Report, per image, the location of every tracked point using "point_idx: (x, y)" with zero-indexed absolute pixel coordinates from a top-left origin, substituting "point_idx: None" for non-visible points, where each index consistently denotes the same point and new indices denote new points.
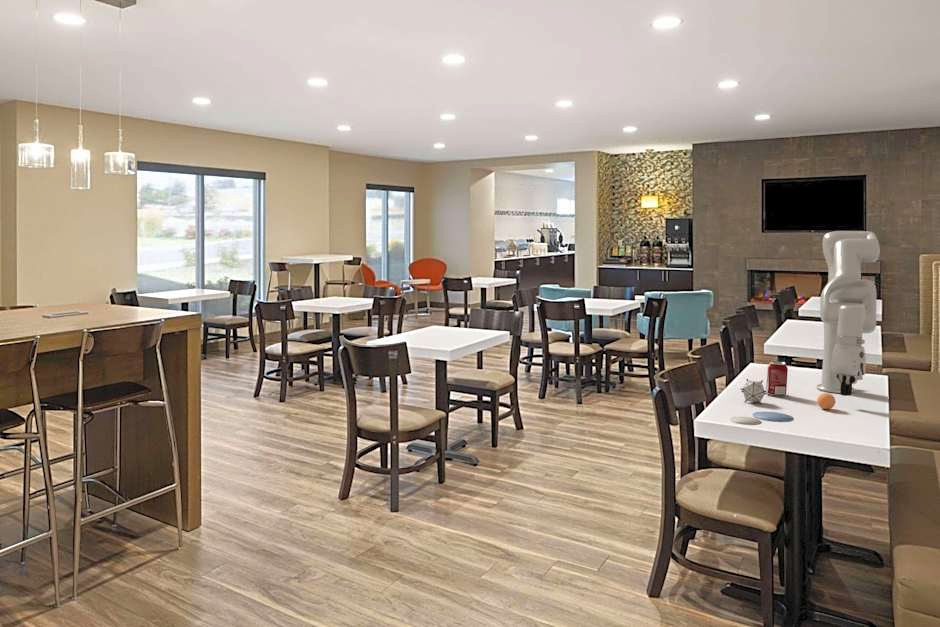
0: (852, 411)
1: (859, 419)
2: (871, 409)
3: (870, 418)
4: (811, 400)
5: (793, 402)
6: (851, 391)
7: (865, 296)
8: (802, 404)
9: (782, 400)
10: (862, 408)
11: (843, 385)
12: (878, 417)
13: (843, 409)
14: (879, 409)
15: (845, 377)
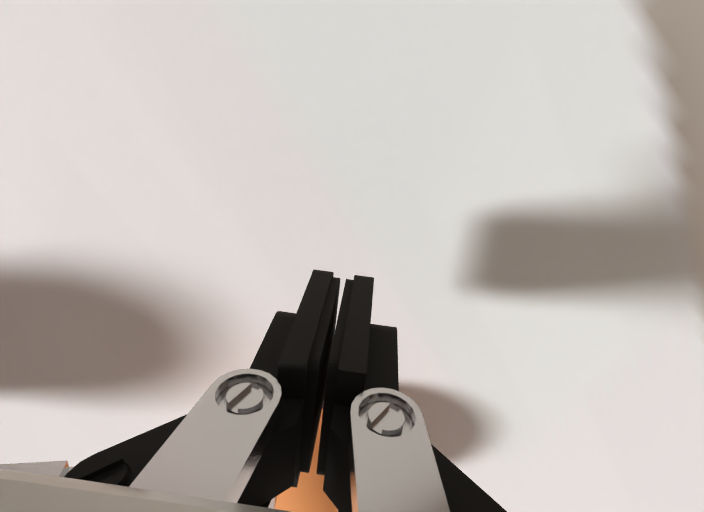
0: (468, 343)
1: (596, 490)
2: (557, 126)
3: (648, 425)
4: (54, 265)
5: (82, 420)
6: (396, 333)
7: None
8: (149, 423)
9: (11, 425)
10: (475, 166)
11: (311, 454)
12: (692, 360)
13: None
14: (624, 39)
15: (220, 480)
